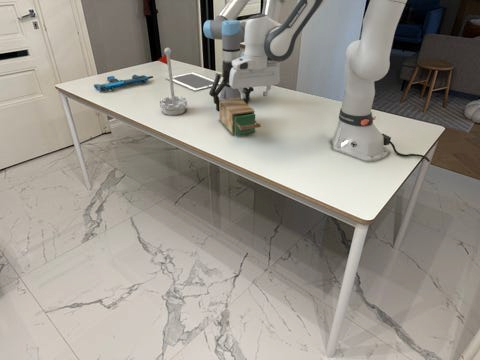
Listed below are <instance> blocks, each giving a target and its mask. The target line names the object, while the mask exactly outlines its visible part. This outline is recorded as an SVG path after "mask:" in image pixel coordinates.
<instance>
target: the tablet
mask: <svg viewBox="0 0 480 360" xmlns="http://www.w3.org/2000/svg"><path fill="white" fill-rule="evenodd" d="M172 79H173V83H175V84H178V85H179V86H182V87H185V88H187V89H189V90H192V91H194V92H197V91H200V90H204V89H208V88H212V85H213V83H214V80H215V79H212V78H210V77H207V76H203V75H201V74H199V73H196V72H193V71H192V72H188V73H183V74H179V75H178V74H177V75H173V76H172ZM166 80H168V81H169V77H166ZM220 84H221V82H220V81H219V83H218V86H219V85H220Z"/></svg>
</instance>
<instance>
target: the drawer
mask: <svg viewBox="0 0 480 360" xmlns="http://www.w3.org/2000/svg"><path fill="white" fill-rule="evenodd" d="M260 127H262V125H261V123H260V122H258V121H257V120H256V114H255V113H254V114H251V113H245V114H239V115H234V131H235V135H234V136H240V135H246V134H251V133H255V132H256V129H257V128H260Z"/></svg>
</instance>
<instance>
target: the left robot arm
mask: <svg viewBox="0 0 480 360" xmlns="http://www.w3.org/2000/svg"><path fill="white" fill-rule="evenodd" d="M250 1H251V0H228V1H227V2H226V4H225V5H224V6H223V7H222V8H221V10H220V11H219V12H218V14H217V15H216V16H215V18H214V19H207V20H206V21H205V22H204V23H203V27H202V28H203V29H202V30H203V34H204V36H205V38H207V39H212V40H219V41H221V47H222V49H221V51H222V52H221V53H222V54H221V55H222V60H221V61H222V62H221V70H222V71H221V73H218V72H215V78H214V79H213V80H214V83H213V85H212V87H210V90H209V92H208V94H209V96H211V97H213V104H214V105H215V110H216V112H217V113H220V112H219V111H220V110H219V100H226V99H233V98H241V93H240V92H239V90H238V89H233V88H232V87H231V86H230V85H229V77H230V71H231V69H232V68H233V66H232V61H233V60H235V59H237V58H240V57H242V56H244V53H241V44H242V43H245V42H244V36H245V25H246V21H242V22H240V21H239V20H238V19H237V18H238V17H239V16H240V14H241V13H242V11H243V10H244V9H245V7H247V5H248V3H249V2H250ZM286 2H287V0H263V6H262V11H261V14H265V15H267V16H268V17H269V18H271V19H272V20H274V21H275V22H277V23H279V19H280V14H281V10H282V6H283V5H284V4H286ZM267 61H273V60H271V59H269V58H268V57H267ZM221 79H222V80H221ZM220 81H221V82H220ZM219 82H220V83H221V84H220V85H218V83H219ZM254 90H255V89H254V87H248V88H243V91H242V92H243V93H245V94H246V96H245V97H246V98H245V99H242V98H241V99H242V100H243V101H244V102H245V103H246V104H248V105H249V103H248V102H249V101H250V94H251V92H254Z"/></svg>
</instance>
